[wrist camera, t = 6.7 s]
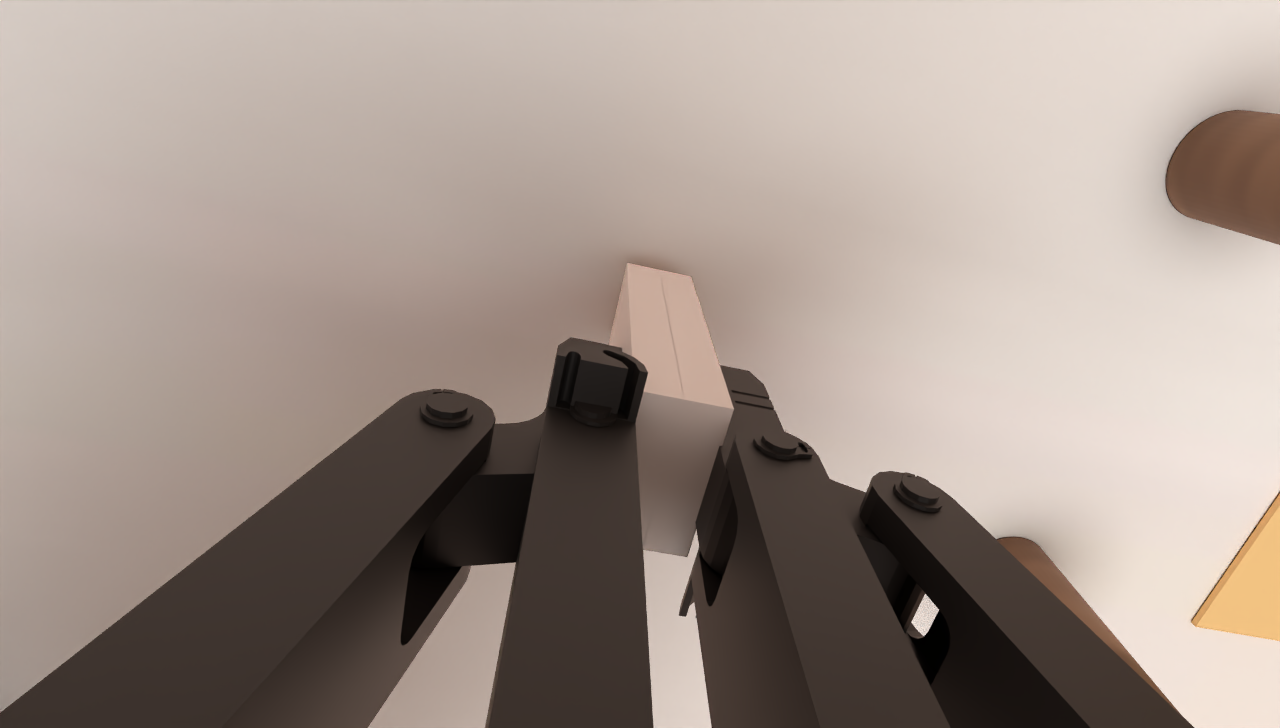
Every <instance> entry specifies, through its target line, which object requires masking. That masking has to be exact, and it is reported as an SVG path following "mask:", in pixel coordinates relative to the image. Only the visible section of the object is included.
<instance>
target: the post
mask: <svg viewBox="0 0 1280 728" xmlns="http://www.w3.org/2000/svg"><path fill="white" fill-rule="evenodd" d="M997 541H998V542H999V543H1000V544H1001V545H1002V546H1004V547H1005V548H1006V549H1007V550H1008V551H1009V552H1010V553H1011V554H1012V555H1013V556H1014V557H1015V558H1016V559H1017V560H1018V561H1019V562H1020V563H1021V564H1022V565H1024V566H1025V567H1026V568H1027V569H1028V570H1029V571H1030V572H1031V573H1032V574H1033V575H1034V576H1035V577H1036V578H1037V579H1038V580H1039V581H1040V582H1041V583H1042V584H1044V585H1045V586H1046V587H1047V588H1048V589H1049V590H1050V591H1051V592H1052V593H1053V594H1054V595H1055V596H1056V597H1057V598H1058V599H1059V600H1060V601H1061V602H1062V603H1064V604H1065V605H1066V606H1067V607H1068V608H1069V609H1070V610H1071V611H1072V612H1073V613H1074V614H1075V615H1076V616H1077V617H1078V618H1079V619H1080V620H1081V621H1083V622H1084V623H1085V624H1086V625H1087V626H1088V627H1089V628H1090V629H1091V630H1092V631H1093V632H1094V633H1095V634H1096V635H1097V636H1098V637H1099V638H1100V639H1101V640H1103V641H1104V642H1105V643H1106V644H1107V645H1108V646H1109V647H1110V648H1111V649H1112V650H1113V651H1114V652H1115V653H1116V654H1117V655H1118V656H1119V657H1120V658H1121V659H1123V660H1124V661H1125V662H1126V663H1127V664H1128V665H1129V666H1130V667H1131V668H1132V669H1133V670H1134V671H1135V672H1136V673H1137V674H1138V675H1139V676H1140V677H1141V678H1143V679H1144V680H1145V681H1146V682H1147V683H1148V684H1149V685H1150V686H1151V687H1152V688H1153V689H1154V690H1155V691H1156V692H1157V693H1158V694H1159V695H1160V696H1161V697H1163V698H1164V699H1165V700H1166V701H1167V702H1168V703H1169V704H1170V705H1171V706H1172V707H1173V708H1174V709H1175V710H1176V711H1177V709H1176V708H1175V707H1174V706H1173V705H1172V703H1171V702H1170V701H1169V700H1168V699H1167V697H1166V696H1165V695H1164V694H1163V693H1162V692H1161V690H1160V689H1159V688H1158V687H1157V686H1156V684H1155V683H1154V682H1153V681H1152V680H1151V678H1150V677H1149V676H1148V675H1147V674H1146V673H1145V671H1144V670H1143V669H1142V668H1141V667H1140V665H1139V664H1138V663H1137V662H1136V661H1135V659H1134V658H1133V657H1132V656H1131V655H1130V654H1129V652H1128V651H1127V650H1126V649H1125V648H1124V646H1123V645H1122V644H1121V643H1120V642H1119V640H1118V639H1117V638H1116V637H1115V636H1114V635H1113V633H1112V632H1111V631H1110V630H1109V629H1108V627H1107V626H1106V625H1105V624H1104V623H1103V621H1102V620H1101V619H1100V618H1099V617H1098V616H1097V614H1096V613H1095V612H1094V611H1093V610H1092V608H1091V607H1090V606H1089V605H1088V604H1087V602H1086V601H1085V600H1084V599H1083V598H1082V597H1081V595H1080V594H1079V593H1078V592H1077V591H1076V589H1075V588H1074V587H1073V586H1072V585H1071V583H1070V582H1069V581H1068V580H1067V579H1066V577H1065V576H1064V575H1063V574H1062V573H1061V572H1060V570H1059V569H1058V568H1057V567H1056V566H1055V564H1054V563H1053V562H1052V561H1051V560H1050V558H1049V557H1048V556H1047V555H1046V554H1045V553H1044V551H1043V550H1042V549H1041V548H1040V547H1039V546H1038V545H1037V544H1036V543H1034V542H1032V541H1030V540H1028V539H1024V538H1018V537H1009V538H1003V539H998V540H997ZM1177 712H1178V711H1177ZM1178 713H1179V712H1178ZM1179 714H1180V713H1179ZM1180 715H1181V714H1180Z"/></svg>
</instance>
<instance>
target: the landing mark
mask: <svg viewBox="0 0 1280 728" xmlns="http://www.w3.org/2000/svg"><path fill="white" fill-rule="evenodd" d="M1191 623H1192V624H1193V625H1194V626H1195V627H1200V628H1206V629H1212V630H1218V631H1224V632H1230V633H1236V634H1241V635H1247V636H1253V637H1259V638H1265V639H1271V640H1277V641H1280V494H1279V495H1278V497H1277V498H1276V500H1275V501H1274V503H1273V504H1272V506H1271V507H1270V508H1269V510H1268V511H1267V513H1266V514H1265V516H1264V517H1263V519H1262V520H1261V522H1260V523H1259V524H1258V526H1257V527H1256V529H1255V530H1254V532H1253V533H1252V535H1251V536H1250V538H1249V539H1248V540H1247V542H1246V543H1245V545H1244V546H1243V548H1242V549H1241V551H1240V552H1239V554H1238V555H1237V556H1236V558H1235V559H1234V561H1233V562H1232V564H1231V565H1230V567H1229V568H1228V569H1227V571H1226V572H1225V574H1224V575H1223V577H1222V578H1221V580H1220V581H1219V583H1218V584H1217V585H1216V587H1215V588H1214V590H1213V591H1212V593H1211V594H1210V596H1209V597H1208V599H1207V600H1206V601H1205V603H1204V604H1203V606H1202V607H1201V609H1200V610H1199V612H1198V613H1197V615H1196V616H1195V617H1194V619H1193V620H1192V622H1191Z"/></svg>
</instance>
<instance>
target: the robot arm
mask: <svg viewBox="0 0 1280 728" xmlns="http://www.w3.org/2000/svg"><path fill="white" fill-rule="evenodd" d="M495 419H496V418H495V416H494V413H493V411H492V409H491V408H490V407H489V406H487V405H486V404H485V403H484V402H483V401H481V400H479V399H476V398H474V397H472V396H469V395H467V394H463V393H458V392H456V391H453V390H446V389H444V390H441V389H432V390H428V391H422V392H416V393H412V394H410V395H408V396H406V397H404V398H402V399H400V400H399V401H398V402H397V403H395V404H394V405H393V406H391V407H390V408H389V409H388V410H386V411H385V412H384V413H383V414H381V415H380V416H379V417H377V418H376V419H375V420H374V421H372V422H371V423H370V424H368V425H367V426H366V427H365V428H363V429H362V430H361V431H360V432H358V433H357V434H356V435H354V436H353V437H352V438H351V439H349V440H348V441H347V442H346V443H344V444H343V445H342V446H340V447H339V448H338V449H337V450H335V451H334V452H333V453H331V454H330V455H329V456H328V457H326V458H325V459H324V460H323V461H321V462H320V463H319V464H317V465H316V466H315V467H314V468H312V469H311V470H310V471H308V472H307V473H306V474H305V475H303V476H302V477H301V478H300V479H298V480H297V481H296V482H294V483H293V484H292V485H291V486H289V487H288V488H287V489H286V490H284V491H283V492H282V493H280V494H279V495H278V496H277V497H275V498H274V499H273V500H271V501H270V502H269V503H268V504H266V505H265V506H264V507H263V508H261V509H260V510H259V511H257V512H256V513H255V514H254V515H252V516H251V517H250V518H248V519H247V520H246V521H245V522H243V523H242V524H241V525H240V526H238V527H237V528H236V529H234V530H233V531H232V532H231V533H229V534H228V535H227V536H226V537H224V538H223V539H222V540H220V541H219V542H218V543H217V544H215V545H214V546H213V547H211V548H210V549H209V550H208V551H206V552H205V553H204V554H203V555H201V556H200V557H199V558H197V559H196V560H195V561H194V562H192V563H191V564H190V565H189V566H187V567H186V568H185V569H183V570H182V571H181V572H180V573H178V574H177V575H176V576H174V577H173V578H172V579H171V580H169V581H168V582H167V583H166V584H164V585H163V586H162V587H160V588H159V589H158V590H157V591H155V592H154V593H153V594H151V595H150V596H149V597H148V598H146V599H145V600H144V601H143V602H141V603H140V604H139V605H137V606H136V607H135V608H134V609H132V610H131V611H130V612H129V613H127V614H126V615H125V616H123V617H122V618H121V619H120V620H118V621H117V622H116V623H114V624H113V625H112V626H111V627H109V628H108V629H107V630H106V631H104V632H103V633H102V634H100V635H99V636H98V637H97V638H95V639H94V640H93V641H92V642H90V643H89V644H88V645H86V646H85V647H84V648H83V649H81V650H80V651H79V652H77V653H76V654H75V655H74V656H72V657H71V658H70V659H69V660H67V661H66V662H65V663H63V664H62V665H61V666H60V667H58V668H57V669H56V670H54V671H53V672H52V673H51V674H49V675H48V676H47V677H46V678H44V679H43V680H42V681H40V682H39V683H38V684H37V685H35V686H34V687H33V688H32V689H30V690H29V691H28V692H26V693H25V694H24V695H23V696H21V697H20V698H19V699H17V700H16V701H15V702H14V703H12V704H11V705H10V706H9V707H7V708H6V709H5V710H3V711H2V712H1V713H0V728H368V726H369V725H370V723H371V722H372V720H373V719H374V717H375V716H376V714H377V713H378V711H379V710H380V708H381V707H382V705H383V704H384V702H385V701H386V699H387V698H388V696H389V695H390V693H391V692H392V691H393V689H394V688H395V686H396V685H397V683H398V682H399V680H400V679H401V677H402V676H403V674H404V673H405V671H406V670H407V668H408V667H409V665H410V664H411V662H412V661H413V659H414V658H415V656H416V655H417V653H418V652H419V650H420V649H421V647H422V646H423V644H424V643H425V641H426V640H427V638H428V637H429V635H430V634H431V633H432V631H433V630H434V628H435V627H436V625H437V624H438V622H439V621H440V619H441V618H442V616H443V615H444V613H445V612H446V610H447V609H448V607H449V606H450V604H451V603H452V601H453V600H454V598H455V597H456V595H457V594H458V592H459V591H460V589H461V588H462V586H463V585H464V583H465V582H466V580H467V577H468V574H469V571H470V567H471V566H472V565H486V564H499V563H512V562H516V565H515V571H514V576H513V581H512V587H511V592H510V597H509V603H508V608H507V613H506V619H505V624H504V629H503V635H502V640H501V645H500V651H499V656H498V661H497V667H496V672H495V677H494V683H493V688H492V693H491V699H490V704H489V709H488V715H487V720H486V725H485V728H653V715H652V697H651V680H650V663H649V646H648V628H647V611H646V594H645V577H644V560H643V550H649V551H655V552H661V553H667V554H673V555H679V556H685V557H687V556H688V553H689V550H690V547H691V544H692V540H693V537H694V534H695V531H696V529H697V535H698V541H699V550H698V553H697V556H696V559H695V562H694V565H693V568H692V571H691V575H690V578H689V581H688V584H687V587H686V590H685V593H684V596H683V599H682V603H681V606H680V612H679V616H685V617H686V615H687V612H688V608H689V606H690V605H691V604H692V603H693V602H695V609H696V618H697V623H698V631H699V638H700V645H701V652H702V660H703V667H704V674H705V682H706V689H707V696H708V703H709V711H710V718H711V725H712V728H1194V727H1193V726H1192V725H1191V724H1190V723H1189V722H1188V721H1187V720H1186V719H1185V718H1184V717H1183V716H1182V715H1180V714H1179V713H1178V712H1177V711H1176V710H1175V709H1174V708H1173V707H1172V706H1171V705H1170V704H1169V703H1168V702H1167V701H1166V700H1165V699H1164V698H1163V697H1161V696H1160V695H1159V694H1158V693H1157V692H1156V691H1155V690H1154V689H1153V688H1152V687H1151V686H1150V685H1149V684H1148V683H1147V682H1146V681H1145V680H1144V679H1143V678H1141V677H1140V676H1139V675H1138V674H1137V673H1136V672H1135V671H1134V670H1133V669H1132V668H1131V667H1130V666H1129V665H1128V664H1127V663H1126V662H1125V661H1124V660H1123V659H1121V658H1120V657H1119V656H1118V655H1117V654H1116V653H1115V652H1114V651H1113V650H1112V649H1111V648H1110V647H1109V646H1108V645H1107V644H1106V643H1105V642H1104V641H1103V640H1101V639H1100V638H1099V637H1098V636H1097V635H1096V634H1095V633H1094V632H1093V631H1092V630H1091V629H1090V628H1089V627H1088V626H1087V625H1086V624H1085V623H1084V622H1083V621H1081V620H1080V619H1079V618H1078V617H1077V616H1076V615H1075V614H1074V613H1073V612H1072V611H1071V610H1070V609H1069V608H1068V607H1067V606H1066V605H1065V604H1064V603H1062V602H1061V601H1060V600H1059V599H1058V598H1057V597H1056V596H1055V595H1054V594H1053V593H1052V592H1051V591H1050V590H1049V589H1048V588H1047V587H1046V586H1045V585H1044V584H1042V583H1041V582H1040V581H1039V580H1038V579H1037V578H1036V577H1035V576H1034V575H1033V574H1032V573H1031V572H1030V571H1029V570H1028V569H1027V568H1026V567H1025V566H1024V565H1022V564H1021V563H1020V562H1019V561H1018V560H1017V559H1016V558H1015V557H1014V556H1013V555H1012V554H1011V553H1010V552H1009V551H1008V550H1007V549H1006V548H1005V547H1004V546H1002V545H1001V544H1000V543H999V542H998V541H997V540H996V539H995V538H994V537H993V536H992V535H991V534H990V533H989V532H988V531H987V530H986V529H985V528H983V527H982V526H981V525H980V524H979V523H978V522H977V521H976V520H975V519H974V518H973V517H972V516H971V515H970V514H969V513H968V512H967V511H966V510H965V509H963V508H962V507H961V506H960V505H959V504H958V503H957V502H956V501H955V500H954V499H953V498H952V497H950V496H949V495H948V494H946V493H945V492H944V491H943V490H941V489H940V488H938V487H936V486H934V485H933V484H931V483H929V481H928V480H926V479H924V478H922V477H919V476H917V477H915V475H913V474H910V473H899V472H893V471H888V472H879V473H878V474H876V475H875V476H874V477H872V480H871V482H870V485H869V487H868V489H867V492H866V493H865V492H863V491H860V490H857V489H854V488H852V487H849V486H846V485H843V484H840V483H838V482H835V481H833V480H831V479H829V477H828V475H827V473H826V471H825V469H824V467H823V465H822V462H821V460H820V458H819V456H818V455H817V454H816V452H815V451H814V450H813V449H812V447H810V446H809V445H808V444H807V443H805V442H803V441H802V440H801V439H799V438H797V437H795V436H793V435H791V434H788V433H786V432H784V430H783V428H782V425H781V423H780V421H779V418H778V416H777V414H776V412H775V411H774V407H773V405H772V402H771V400H769V395H768V393H767V391H766V388H765V386H764V384H763V383H762V382H760V381H759V380H758V379H757V378H756V377H755V376H754V375H753V374H751V373H750V372H749V371H746V370H741V369H736V368H731V367H726V366H721V365H720V364H719V361H718V358H717V355H716V352H715V349H714V346H713V343H712V340H711V337H710V333H709V330H708V327H707V324H706V321H705V318H704V315H703V312H702V309H701V306H700V303H699V299H698V296H697V293H696V290H695V287H694V284H693V281H692V278H691V276H687V275H682V274H677V273H673V272H668V271H663V270H659V269H654V268H649V267H645V266H640V265H635V264H631V263H627V266H626V270H625V274H624V279H623V283H622V287H621V292H620V296H619V301H618V305H617V309H616V314H615V318H614V322H613V327H612V331H611V335H610V340H609V344H608V345H606V344H601V343H596V342H591V341H586V340H581V339H576V338H569V339H568V340H566V341H565V342H563V343H562V344H560V345H559V346H558V349H557V354H556V359H555V364H554V369H553V374H552V379H551V384H550V389H549V394H548V400H547V405H546V409H545V411H544V412H543V413H542V414H541V415H539V416H538V417H536V418H534V419H532V420H529V421H525V422H520V423H510V424H495ZM925 593H926V595H927V596H928V597H929V598H930V599H931V601H932V602H933V603H934V604H935V605H936V606H937V608H938V609H939V612H938V614H937V615H936V617H935V619H934V621H933V623H932V625H931V627H930V629H929V631H928V633H927V634H926V635H925V636H923V635H922V634H920V633H919V632H918V631H917V630H916V628H915V627H914V626H913V624H912V623H911V621H912V619H913V617H914V615H915V613H916V611H917V609H918V607H919V605H920V603H921V601H922V599H923V597H924V595H925Z"/></svg>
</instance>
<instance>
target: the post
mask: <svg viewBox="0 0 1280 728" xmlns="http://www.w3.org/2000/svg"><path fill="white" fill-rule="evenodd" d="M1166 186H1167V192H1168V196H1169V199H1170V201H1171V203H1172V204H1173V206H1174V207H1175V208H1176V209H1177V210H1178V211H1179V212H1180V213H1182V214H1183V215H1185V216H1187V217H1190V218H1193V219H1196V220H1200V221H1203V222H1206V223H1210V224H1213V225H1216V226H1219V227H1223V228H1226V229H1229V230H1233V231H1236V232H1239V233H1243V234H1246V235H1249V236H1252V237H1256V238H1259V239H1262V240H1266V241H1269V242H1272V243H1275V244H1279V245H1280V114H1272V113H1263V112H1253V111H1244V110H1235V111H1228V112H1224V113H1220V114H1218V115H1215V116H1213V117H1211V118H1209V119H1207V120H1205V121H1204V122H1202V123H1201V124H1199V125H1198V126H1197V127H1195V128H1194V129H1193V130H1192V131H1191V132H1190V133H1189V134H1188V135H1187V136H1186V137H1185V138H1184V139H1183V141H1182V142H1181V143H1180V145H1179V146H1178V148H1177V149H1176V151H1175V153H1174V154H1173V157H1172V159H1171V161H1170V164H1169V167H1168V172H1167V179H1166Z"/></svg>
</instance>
